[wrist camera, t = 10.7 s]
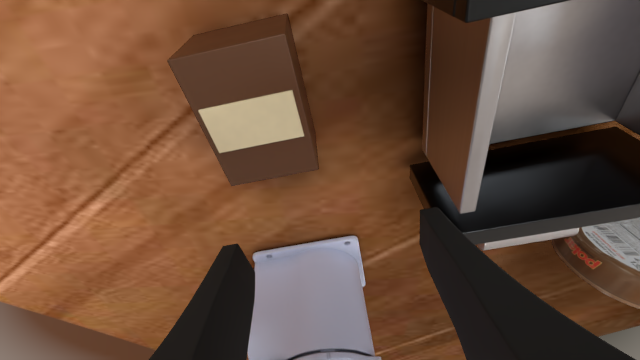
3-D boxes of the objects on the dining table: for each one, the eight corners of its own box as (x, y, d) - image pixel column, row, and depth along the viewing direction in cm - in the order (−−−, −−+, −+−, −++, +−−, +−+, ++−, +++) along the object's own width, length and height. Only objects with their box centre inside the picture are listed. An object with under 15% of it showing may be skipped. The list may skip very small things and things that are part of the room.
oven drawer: (584, 187, 23) (662, 256, 18) (409, 218, 24) (438, 290, 19) (757, -150, 11) (1095, -212, 7) (409, -65, 12) (482, -65, 8)
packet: (241, 147, 20) (230, 187, 16) (192, 35, 15) (165, 61, 12) (315, 132, 19) (319, 170, 16) (287, 13, 15) (285, 33, 12)
